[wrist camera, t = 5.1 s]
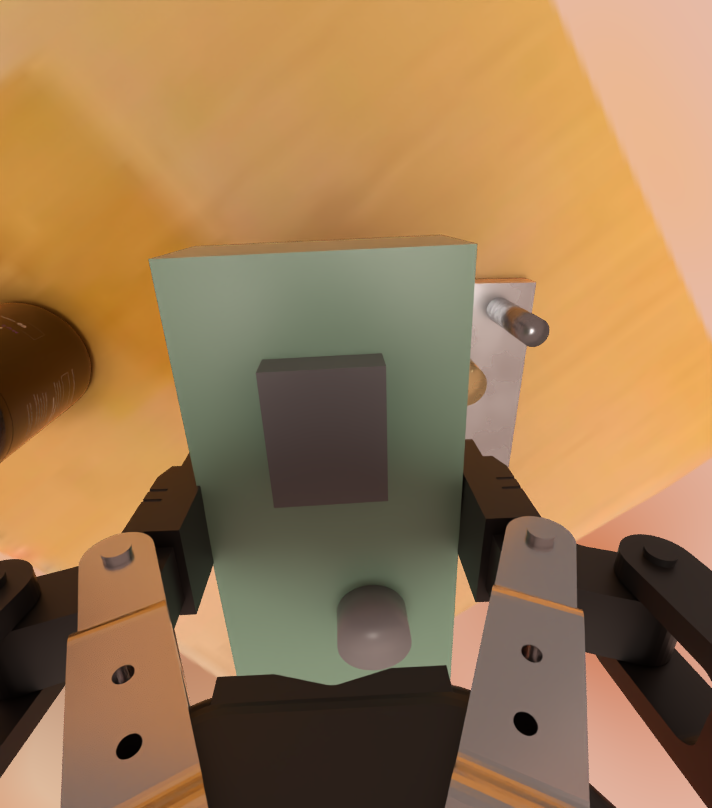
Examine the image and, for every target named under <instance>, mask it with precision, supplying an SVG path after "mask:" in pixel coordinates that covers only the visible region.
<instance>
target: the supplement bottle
mask: <svg viewBox="0 0 712 808" xmlns="http://www.w3.org/2000/svg"><path fill="white" fill-rule="evenodd" d="M90 377H91V363H90V358H89V354H88V351H87V349H86V347H85V345H84V343H83V341H82V340H81V338H80V337H79V335H78V334H77V333H76V332H75V330H74V329H73V328H72V327H71V326H70V325H69V324H68V323H66V322H65V321H64V320H63V319H61V318H60V317H58V316H57V315H55V314H53V313H52V312H50V311H48V310H46V309H43V308H41V307H38V306H35V305H30V304H25V303H3V304H0V463H1V462H2V461H3V460H5V459H6V458H7V457H8V456H10V455H11V454H12V453H13V452H15V451H16V450H17V449H18V448H20V447H21V446H22V445H23V444H25V443H26V442H27V441H28V440H30V439H31V438H32V437H33V436H35V435H36V434H37V433H38V432H40V431H41V430H42V429H43V428H45V427H46V426H47V425H49V424H50V423H51V422H52V421H54V420H55V419H56V418H57V417H59V416H60V415H61V414H62V413H64V412H65V411H66V410H67V409H68V408H70V407H71V406H72V405H73V404H74V403H76V402H77V401H78V400H79V399H80V398H81V397H82V395H83V394H84V393H85V391H86V389H87V387H88V384H89V381H90Z"/></svg>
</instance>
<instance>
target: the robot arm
mask: <svg viewBox="0 0 712 808" xmlns="http://www.w3.org/2000/svg"><path fill="white" fill-rule="evenodd" d="M458 555H459V558H460V560H461V563H462V566H463V569H464V572H465V574H466V577H467V580H468V583H469V585H470V588H471V591H472V594H473V596H474V599H475V602H489V606H488V611H487V616H486V621H485V625H484V630H483V635H482V640H481V645H480V649H479V654H478V659H477V664H476V669H475V673H474V678H473V683H472V688H471V690H468V689H465V688H462V687H459V686H454V685H451V682H450V678H449V674H448V670H447V666H446V665H439V666H420V667H400V668H389V669H386V670H383V671H380V672H376V673H373V674H370V675H367V676H364V677H360V678H357V679H354V680H351V681H347V682H344V683H341V684H337V685H325V684H321V683H316V682H311V681H306V680H301V679H296V678H291V677H286V676H281V675H276V674H266V675H247V676H227V677H217V680H216V684H215V689H214V693H213V696H212V698H210V699H207V700H204V701H202V702H199V703H197V704H195V705H192V706H191V703H190V699H189V694H188V690H187V685H186V680H185V676H184V671H183V666H182V662H181V658H180V652H179V648H178V643H177V639H176V634H175V630H174V628H175V625H176V622H177V620H178V617H179V615H190V614H197V611H198V608H199V605H200V602H201V599H202V596H203V593H204V590H205V587H206V584H207V581H208V578H209V575H210V572H211V569H212V566H213V563H214V561H213V556H212V550H211V544H210V538H209V533H208V527H207V521H206V516H205V510H204V504H203V498H202V493H201V487H200V486H196V481H195V476H194V471H193V467H192V462H191V457H190V453H189V454H188V456H187V458H186V459H185V461H184V463H183V464H182V466H172V467H171V468H170V469H168V470H167V471H166V472H164V473H163V474H161V475H160V476H159V477H158V478H157V479H156V481H155V482H154V484H153V485H152V487H151V488H150V492H148V493H147V495H146V496H145V498H144V499H143V502H141V504H140V505H139V507H138V508H137V510H136V511H135V513H134V515H133V516H132V518H131V519H130V521H129V522H128V524H127V525H126V527H125V528H124V530H123V531H122V533H121V534H116V535H113V536H110V537H108V538H106V539H103V540H101V541H100V542H98V543H96V544H95V545H93V546H92V547H91V548H90V549H88V550H87V551H86V552H85V553H84V555H83V556H82V558H81V560H80V562H79V566H77V567H73V568H70V569H66V570H62V571H58V572H54V573H50V574H46V575H43V576H39V577H36V575H35V573H34V570H33V567H32V565H31V564H30V563H29V562H27V561H24V560H19V559H10V560H3V561H0V777H1V776H2V775H3V773H4V772H5V770H6V769H7V767H8V766H9V765H10V763H11V762H12V760H13V759H14V757H15V756H16V755H17V753H18V752H19V750H20V749H21V747H22V746H23V745H24V743H25V742H26V740H27V739H28V737H29V736H30V734H31V733H32V732H33V730H34V729H35V727H36V726H37V725H38V723H39V722H40V720H41V719H42V717H43V716H44V715H45V713H46V712H47V710H48V709H49V707H50V706H51V705H52V703H53V702H54V700H55V699H56V697H57V696H58V695H59V693H60V692H61V690H62V689H63V687H64V686H65V708H64V709H65V710H64V735H63V759H62V786H61V787H62V788H61V808H616V807H615V806H614V805H613V804H612V803H611V802H610V801H608V800H607V799H606V798H605V797H604V796H603V795H602V794H601V793H600V792H599V791H597V790H596V789H595V788H594V787H593V786H592V785H591V784H590V783H589V765H588V735H587V734H588V731H587V696H586V663H585V652H587V653H591V654H596V656H597V658H598V659H599V661H600V662H601V664H602V665H603V666H604V668H605V669H606V670H607V672H608V673H609V675H610V676H611V677H612V679H613V680H614V681H615V683H616V684H617V685H618V687H619V688H620V689H621V691H622V692H623V694H624V695H625V696H626V698H627V699H628V700H629V702H630V703H631V704H632V706H633V707H634V708H635V710H636V711H637V713H638V714H639V715H640V717H641V718H642V719H643V721H644V722H645V723H646V725H647V726H648V727H649V729H650V730H651V731H652V733H653V734H654V736H655V737H656V738H657V739H658V741H659V742H660V744H661V745H662V746H663V748H664V749H665V751H666V752H667V753H668V755H669V756H670V757H671V759H672V760H673V761H674V763H675V764H676V765H677V767H678V768H679V769H680V771H681V772H682V773H683V775H684V776H685V778H686V779H687V780H688V781H689V783H690V784H691V786H692V787H693V789H694V790H695V791H696V793H697V794H698V795H699V796H700V798H701V799H702V801H703V802H704V803H705V805H706V806H707V807H708V808H712V688H711V687H710V686H709V685H708V684H707V683H706V682H705V680H704V679H703V678H702V677H701V676H700V675H699V674H698V673H697V672H696V671H695V670H694V669H693V668H692V667H691V665H690V664H689V663H688V662H687V661H686V660H685V659H684V658H683V657H682V656H681V655H680V654H679V653H678V651H677V650H676V649H675V645H676V642H677V641H678V642H679V643H680V644H681V645H682V646H683V647H684V648H685V649H686V650H687V651H688V652H689V654H690V655H691V656H692V657H693V658H694V659H695V660H696V661H697V662H698V663H699V664H700V665H701V666H702V667H703V668H704V670H705V671H706V672H707V674H708V676H709V677H710V679H711V681H712V571H711V570H710V569H709V568H708V567H706V566H705V565H704V564H703V563H701V562H700V561H699V560H698V559H697V558H695V557H694V556H693V555H692V554H690V553H689V552H688V551H686V550H685V549H684V548H682V547H680V546H679V545H676V544H674V543H673V542H670V541H668V540H665V539H662V538H659V537H655V536H651V535H642V534H638V535H630V536H627V537H625V538H624V539H622V540H621V542H620V545H619V548H618V552H613V551H608V550H601V549H596V548H590V547H585V546H581V545H578V544H576V541H575V539H574V537H573V535H572V534H571V533H570V532H569V531H568V530H567V529H566V528H564V527H563V526H561V525H560V524H558V523H556V522H554V521H551V520H549V519H545V518H541V516H540V515H539V513H538V512H537V510H536V509H535V507H534V506H533V504H532V503H531V501H530V500H529V498H528V497H527V495H526V494H525V492H524V491H523V489H521V488H520V485H519V483H518V482H517V480H516V479H514V476H513V474H512V473H511V471H510V470H509V468H508V467H507V465H505V464H504V463H502V462H501V461H499V460H498V459H496V458H495V457H493V456H482V454H481V452H480V451H479V449H478V447H477V446H476V444H475V442H474V441H473V440H472V439H465V449H464V466H463V482H462V498H461V514H460V530H459V542H458Z"/></svg>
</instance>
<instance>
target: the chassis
mask: <svg viewBox="0 0 712 808" xmlns="http://www.w3.org/2000/svg"><path fill="white" fill-rule="evenodd" d="M535 287H536V282H534V281H532V280H529V279H527V278H505V279H475V287H474V304H473V320H472V336H471V352H470V368H469V385H468V401H467V417H466V433H465V439H472V440H473V441H474V442H475V444H476V446H477V447H478V449H479V451H480V452H481V454H482V456H493V457H495V458H496V459H498V460H499V461H501V462H502V463H504V464H505V465H507V467H509V460H510V454H511V447H512V440H513V434H514V427H515V420H516V414H517V407H518V400H519V394H520V387H521V380H522V374H523V367H524V360H525V354H526V347H527V346H529V347H536V346H539V345H541V344H542V343H543V342H544V341H545V340H546V339H547V337H548V335H549V326H548V324H547V322H546V321H545V320H543V319H541V318H539V317H537V316H536V315H534V314H532V307H533V300H534V294H535Z"/></svg>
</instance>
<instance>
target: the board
mask: <svg viewBox="0 0 712 808" xmlns="http://www.w3.org/2000/svg"><path fill="white" fill-rule="evenodd" d="M476 255H477V244H476V243H472V242H468V241H464V240H460V239H456V238H452V237H448V236H444V235H427V236H405V237H384V238H362V239H340V240H319V241H297V242H275V243H253V244H232V245H210V246H194V247H190V248H186V249H183V250H179V251H176V252H172V253H169V254H165V255H162V256H158V257H154V258H151V259H148V260H149V264H150V269H151V274H152V278H153V283H154V288H155V292H156V297H157V302H158V307H159V311H160V316H161V321H162V325H163V330H164V335H165V340H166V344H167V349H168V354H169V358H170V363H171V368H172V373H173V377H174V382H175V387H176V391H177V396H178V401H179V405H180V410H181V415H182V420H183V424H184V429H185V434H186V438H187V443H188V448H189V453H190V457H191V462H192V467H193V471H194V476H195V481H196V486H200V487H201V493H202V498H203V504H204V510H205V516H206V521H207V527H208V533H209V538H210V544H211V550H212V556H213V561H214V563H213V566H214V570H215V575H216V580H217V584H218V589H219V594H220V599H221V603H222V608H223V613H224V617H225V622H226V627H227V631H228V636H229V641H230V646H231V650H232V655H233V660H234V664H235V669H236V674H237V676H247V675H266V674H276V675H281V676H286V677H291V678H296V679H301V680H306V681H311V682H316V683H321V684H325V685H337V684H341V683H344V682H347V681H351V680H354V679H357V678H360V677H364V676H367V675H370V674H373V673H376V672H380V671H383V670H386V669H389V668H400V667H420V666H439V665H446V666H447V670H448V674H449V678H450V676H451V660H452V644H453V628H454V627H453V626H454V611H455V595H456V579H457V563H458V542H459V530H460V514H461V498H462V482H463V466H464V449H465V433H466V417H467V401H468V385H469V368H470V352H471V336H472V320H473V304H474V287H475V271H476Z"/></svg>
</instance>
